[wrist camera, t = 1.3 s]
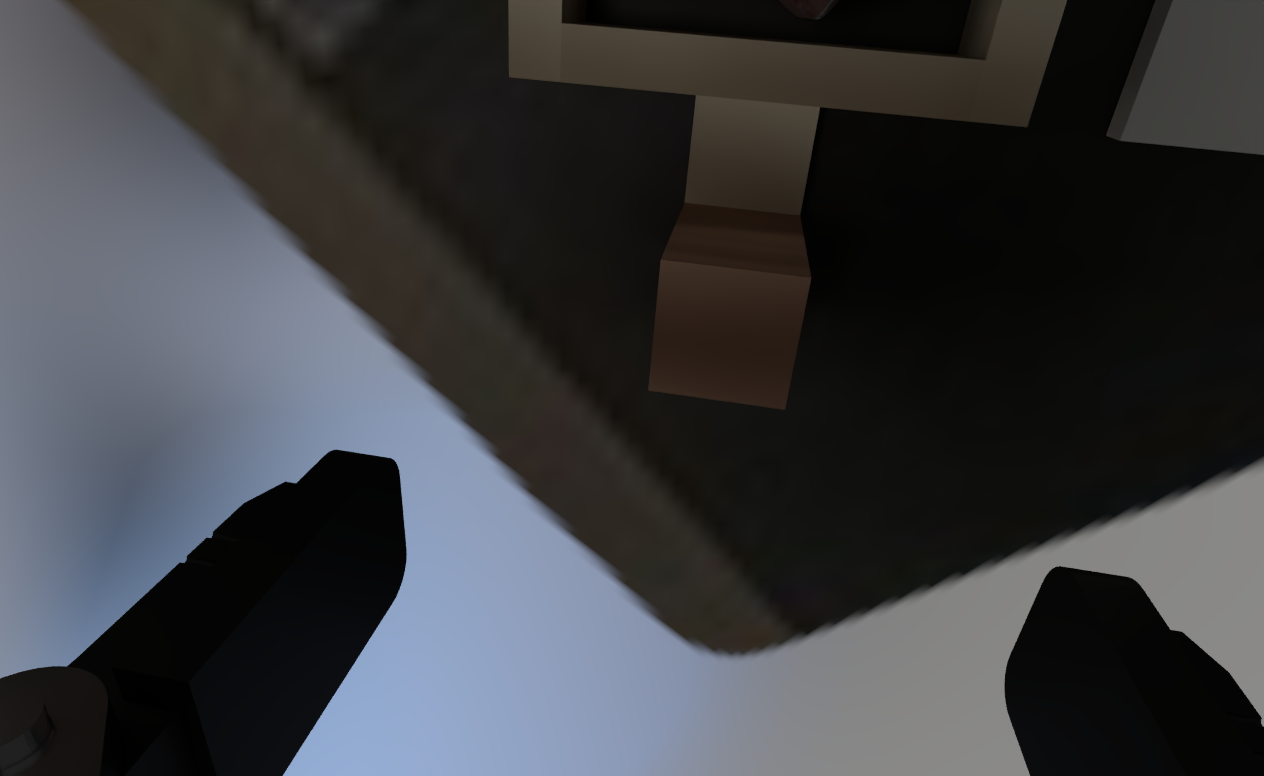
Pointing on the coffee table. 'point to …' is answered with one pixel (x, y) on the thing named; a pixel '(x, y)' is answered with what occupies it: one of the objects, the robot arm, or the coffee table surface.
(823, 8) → the box
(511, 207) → the coffee table surface
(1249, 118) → the pair of grey tiles
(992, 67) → the wooden open tray
